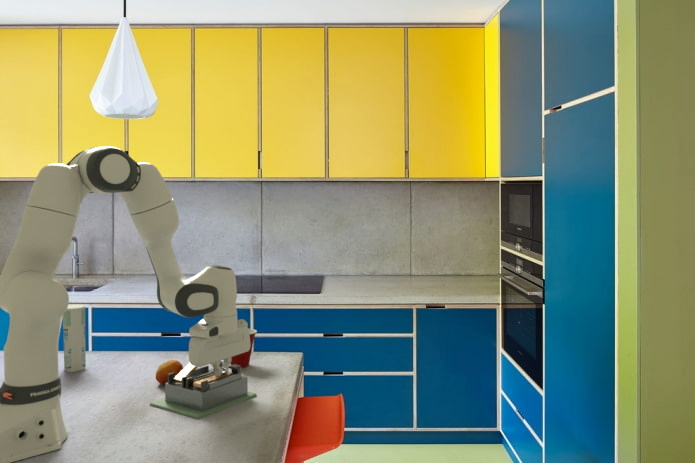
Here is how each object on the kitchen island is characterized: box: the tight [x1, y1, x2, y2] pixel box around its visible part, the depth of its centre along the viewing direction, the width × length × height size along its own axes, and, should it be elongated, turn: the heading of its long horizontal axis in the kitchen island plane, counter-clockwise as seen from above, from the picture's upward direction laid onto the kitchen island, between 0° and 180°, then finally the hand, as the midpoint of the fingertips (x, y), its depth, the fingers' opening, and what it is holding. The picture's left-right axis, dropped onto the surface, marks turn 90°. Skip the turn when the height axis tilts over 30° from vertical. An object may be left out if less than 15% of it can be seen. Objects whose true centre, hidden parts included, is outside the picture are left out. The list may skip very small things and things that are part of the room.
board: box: [149, 391, 257, 420], centre depth 176 cm, size 22×18×1 cm
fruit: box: [155, 359, 184, 387], centre depth 190 cm, size 8×8×8 cm
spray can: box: [62, 304, 87, 373], centre depth 204 cm, size 6×6×20 cm
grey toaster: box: [164, 360, 249, 412], centre depth 176 cm, size 17×14×8 cm
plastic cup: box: [230, 328, 258, 369], centre depth 210 cm, size 11×11×12 cm
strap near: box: [193, 371, 233, 388], centre depth 173 cm, size 12×3×1 cm, turn 147°
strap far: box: [174, 362, 199, 383], centre depth 176 cm, size 12×3×1 cm
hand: (221, 374), depth 175 cm, fingers closed, pressing on strap near
